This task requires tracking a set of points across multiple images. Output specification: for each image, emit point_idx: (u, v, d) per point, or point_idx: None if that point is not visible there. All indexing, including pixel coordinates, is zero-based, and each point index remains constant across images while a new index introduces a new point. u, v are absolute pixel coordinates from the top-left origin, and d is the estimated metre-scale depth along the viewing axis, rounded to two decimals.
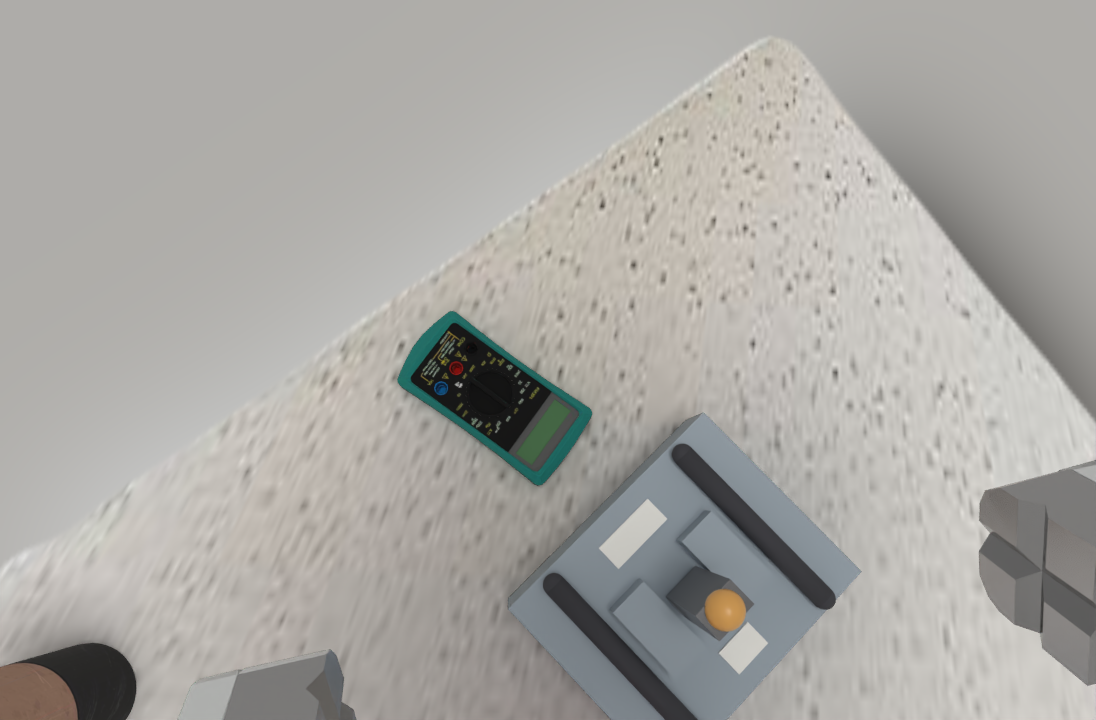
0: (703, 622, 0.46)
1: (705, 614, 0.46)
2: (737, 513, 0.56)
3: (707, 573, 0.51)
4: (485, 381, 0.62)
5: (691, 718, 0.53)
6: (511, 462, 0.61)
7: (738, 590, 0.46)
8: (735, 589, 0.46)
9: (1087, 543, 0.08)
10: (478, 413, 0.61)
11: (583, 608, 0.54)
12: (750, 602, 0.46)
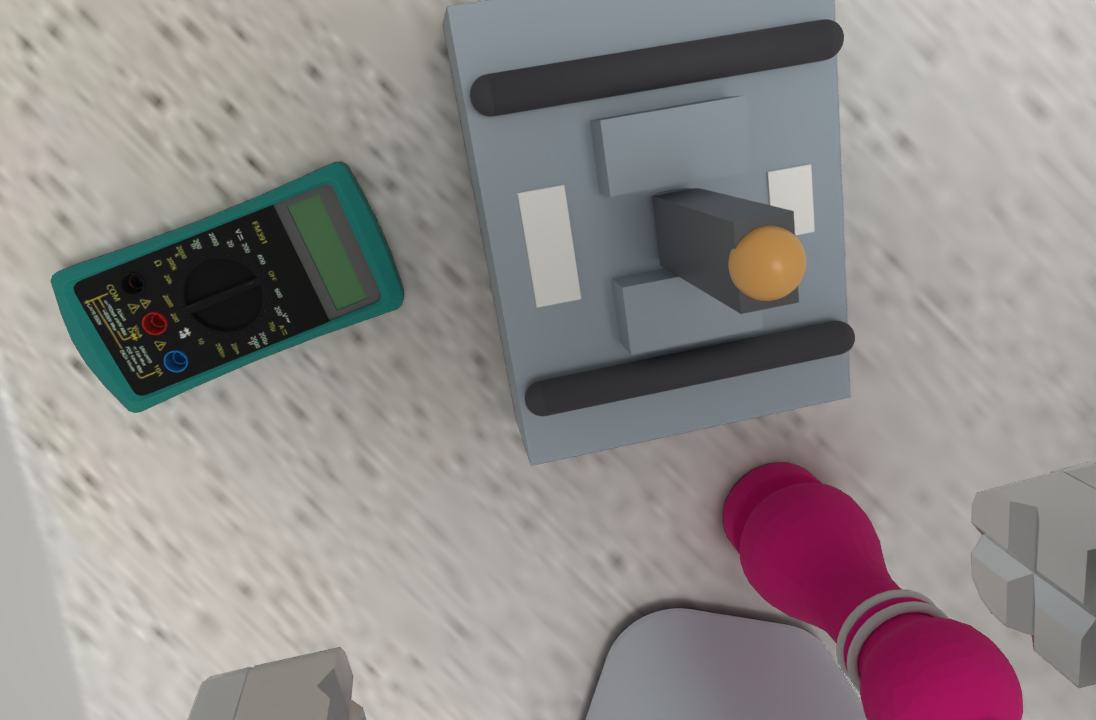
0: (757, 308, 0.26)
1: (750, 297, 0.25)
2: (630, 80, 0.31)
3: (683, 211, 0.29)
4: (201, 289, 0.37)
5: (815, 334, 0.36)
6: (346, 324, 0.38)
7: (757, 221, 0.25)
8: (752, 225, 0.25)
9: (1078, 545, 0.08)
10: (246, 330, 0.37)
11: (598, 384, 0.35)
12: (786, 215, 0.25)
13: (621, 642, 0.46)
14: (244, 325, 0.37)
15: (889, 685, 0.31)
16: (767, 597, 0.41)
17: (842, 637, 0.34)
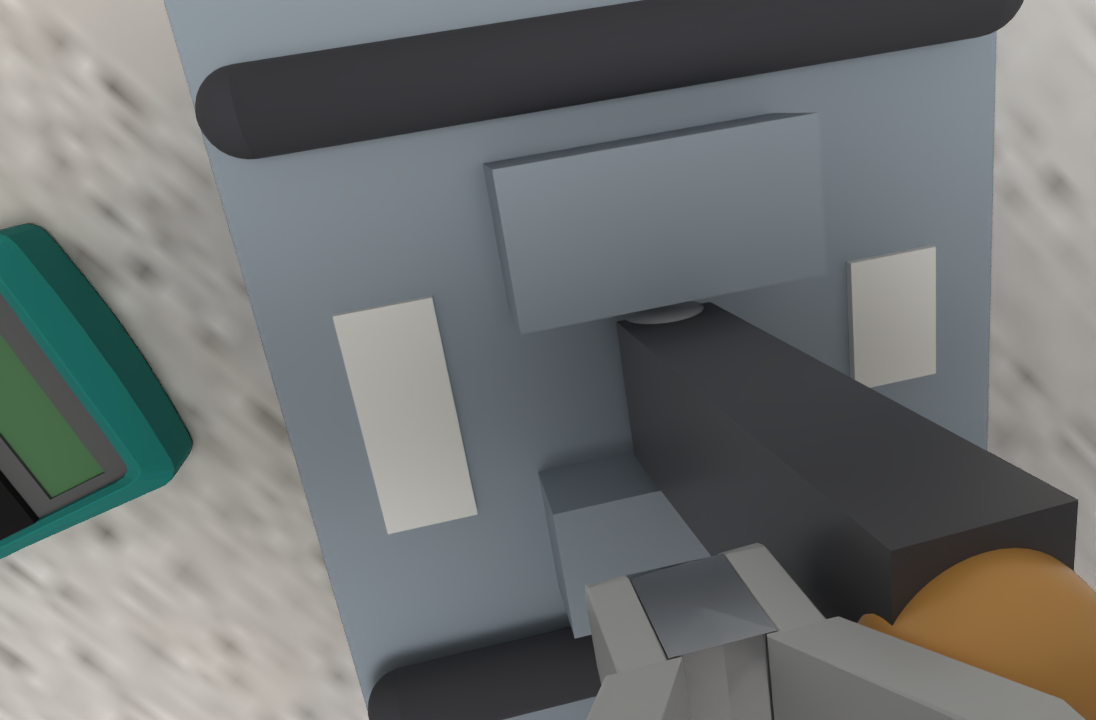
0: None
1: None
2: (561, 78, 0.14)
3: (694, 398, 0.12)
4: None
5: None
6: (72, 522, 0.20)
7: (966, 540, 0.07)
8: (950, 552, 0.07)
9: (685, 646, 0.08)
10: None
11: (510, 686, 0.17)
12: (1056, 515, 0.08)
13: None
14: None
15: None
16: None
17: None
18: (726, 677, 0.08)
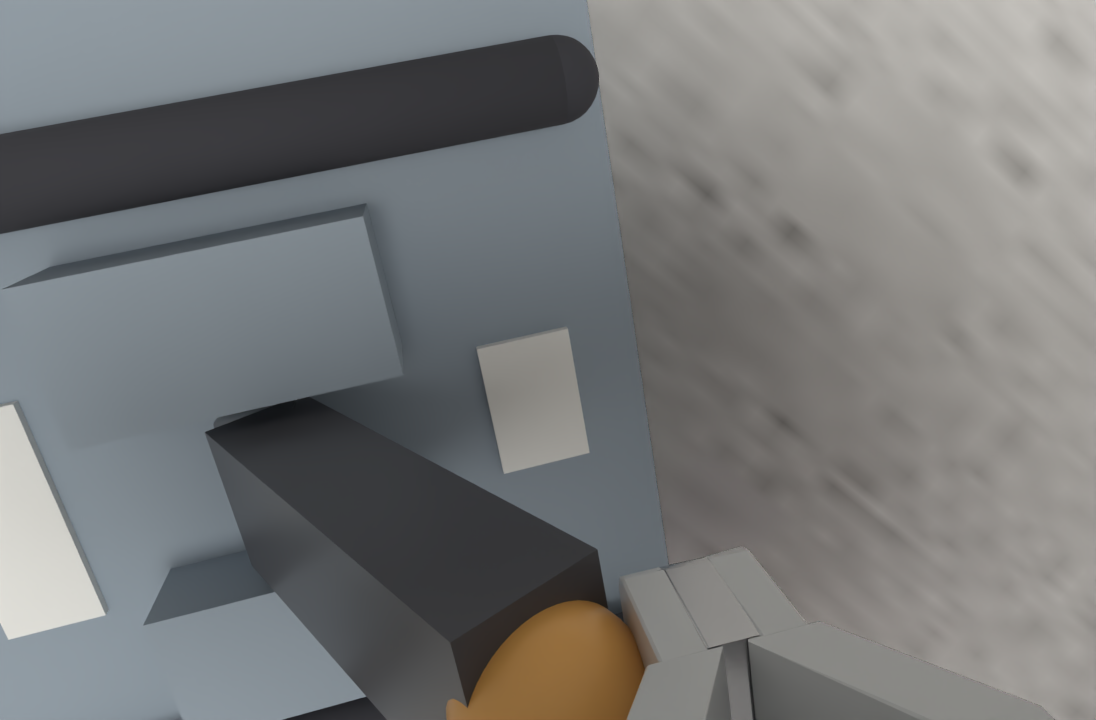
0: None
1: None
2: (77, 190, 0.13)
3: (284, 509, 0.12)
4: None
5: None
6: None
7: (515, 610, 0.08)
8: (504, 625, 0.08)
9: (666, 650, 0.08)
10: None
11: None
12: (583, 566, 0.09)
13: None
14: None
15: None
16: None
17: None
18: None
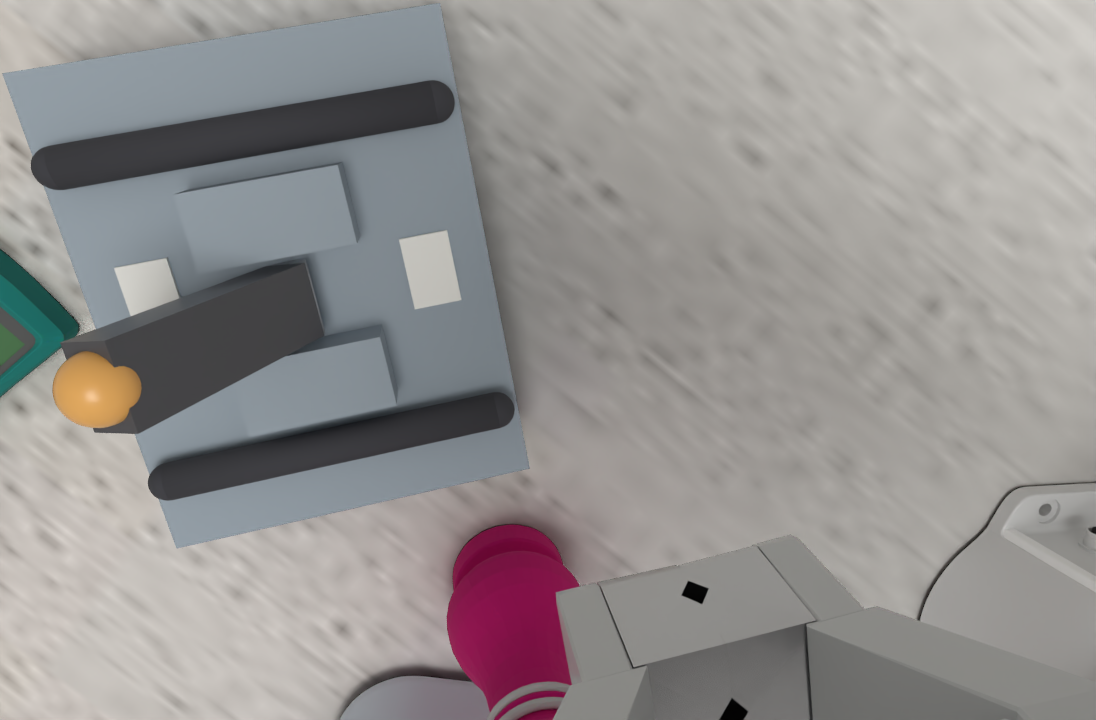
0: (106, 430, 0.24)
1: None
2: (207, 150, 0.29)
3: None
4: None
5: (465, 409, 0.34)
6: (15, 377, 0.35)
7: (79, 345, 0.23)
8: (76, 348, 0.24)
9: (724, 636, 0.08)
10: None
11: (222, 467, 0.32)
12: (100, 344, 0.23)
13: (346, 714, 0.44)
14: None
15: None
16: (466, 674, 0.39)
17: None
18: (692, 686, 0.08)
